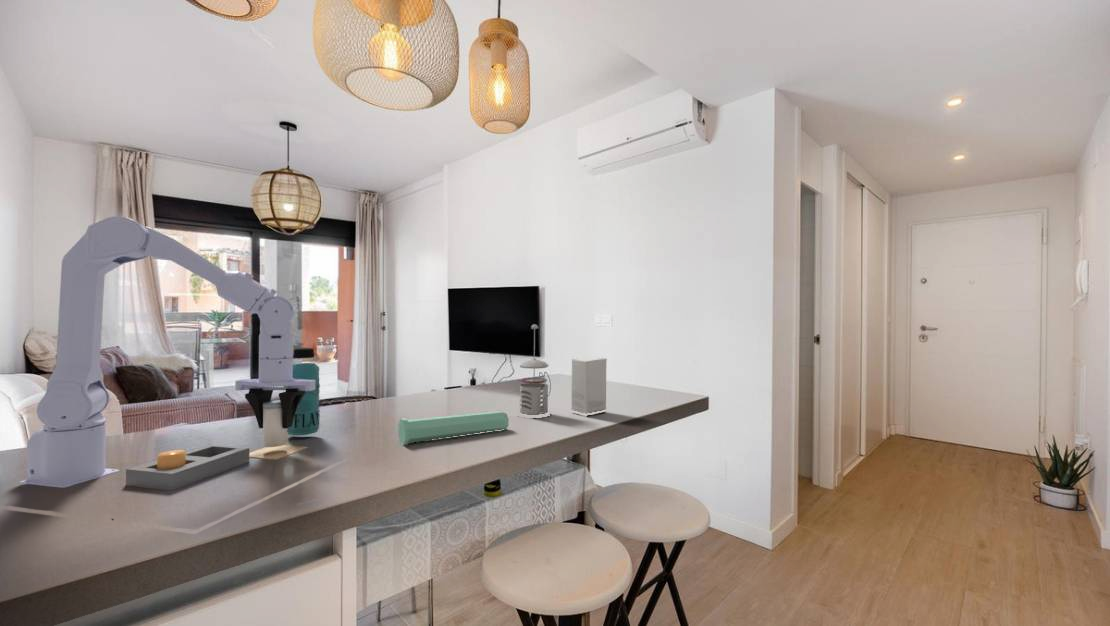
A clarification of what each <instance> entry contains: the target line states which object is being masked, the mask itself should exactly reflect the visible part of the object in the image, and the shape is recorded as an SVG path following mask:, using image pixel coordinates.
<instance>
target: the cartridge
mask: <svg viewBox="0 0 1110 626" xmlns="http://www.w3.org/2000/svg"><path fill="white" fill-rule="evenodd" d="M287 438H288V433H287V428H283V427H282V407H281V402H280V399H278V400H271V401H268V402H264V403H263V428H262V447H263V448H265V447H277V446H282V445H286V444H287V443H288V441H287V440H288V439H287Z"/></svg>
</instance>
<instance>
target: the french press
mask: <svg viewBox="0 0 1110 626" xmlns="http://www.w3.org/2000/svg"><path fill="white" fill-rule="evenodd" d="M530 329H531V330H533V358H532V359H528V360H525V361H523V362H522V363H520V364H519V367H520V368H522V369H533V377H524V378H521V379H520V382H522V383H521V384H520V385H519V393H520V394H519V398H520V399H519V403H520V404H519V411H520V413H522V414H527V415H539V414H545V413H547V412H548V410H549V408H548V407H549V406H548V404H549V396H550V393H551V389H552V385H551V384H552V383H551V382H552V381H551V377H550V375H549V374H548V372H547V371H544V373H543V372H542V371H540V372H538V376H539V377H535V372H536V371H535V370H536V369H538V370H539V369H546V368H549V363H547V362H546V361H543V360H541V359H537V358H535V357H536V356H535V354H536V352H535V351H536V329H539V326H538V325H537V324H535V323H534V324H532V325H531V328H530ZM546 375H547V377H548V380H549V385H548V384H547V381H548V380H547V378H545V376H546ZM541 391H542V392H541Z"/></svg>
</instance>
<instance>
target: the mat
mask: <svg viewBox="0 0 1110 626" xmlns="http://www.w3.org/2000/svg"><path fill="white" fill-rule="evenodd" d="M305 449H308V446H299V445H291V444H289V445H286V444H285V445H282V446H277V447H262V448H260V449H257V450H254V451H251V452H250V451H249V459H259V460H260V459H261V460H272V461H277V460H280V459H284V458H285V457H288V456H290V455H293V454H295V453H298V452H300V451H304V450H305Z"/></svg>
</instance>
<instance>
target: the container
mask: <svg viewBox="0 0 1110 626" xmlns="http://www.w3.org/2000/svg"><path fill="white" fill-rule="evenodd" d="M508 427H509V417H508V413H506V412H503V411H500V410H495V411H487V412H477V413H476V412H472V413H465V414H454V415H445V416H444V415H443V416H435V417H432V416H431V417H423V418H414V419H407V418H405V417H402V418H401V417H400V419H399V422H398V434H397V435H398V439H399V443H400V442H401V443H402V444H403V445H404V446H407V445H408V444H415V443H414V442H416V443H421V442H420V441H424V442H427V441H426V440H432V439H439V438H446V437H453V436H460V435H467V434H474V433H480V432H487V431H495V430H502V429H506V428H507V429H508ZM507 429H506V430H507ZM432 441H433V440H432ZM401 443H400V444H401ZM402 444H401V445H402ZM406 444H407V445H406ZM403 445H402V446H403Z"/></svg>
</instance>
